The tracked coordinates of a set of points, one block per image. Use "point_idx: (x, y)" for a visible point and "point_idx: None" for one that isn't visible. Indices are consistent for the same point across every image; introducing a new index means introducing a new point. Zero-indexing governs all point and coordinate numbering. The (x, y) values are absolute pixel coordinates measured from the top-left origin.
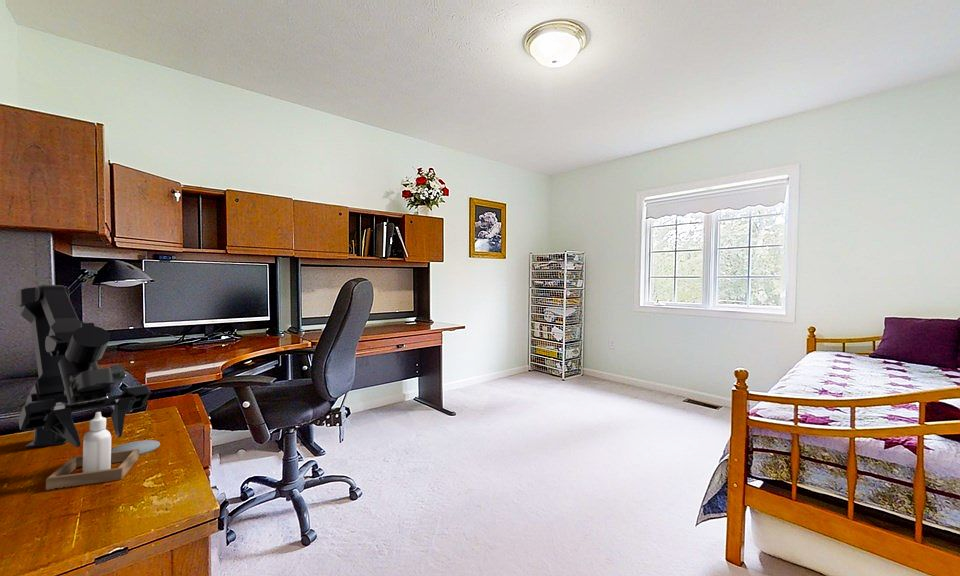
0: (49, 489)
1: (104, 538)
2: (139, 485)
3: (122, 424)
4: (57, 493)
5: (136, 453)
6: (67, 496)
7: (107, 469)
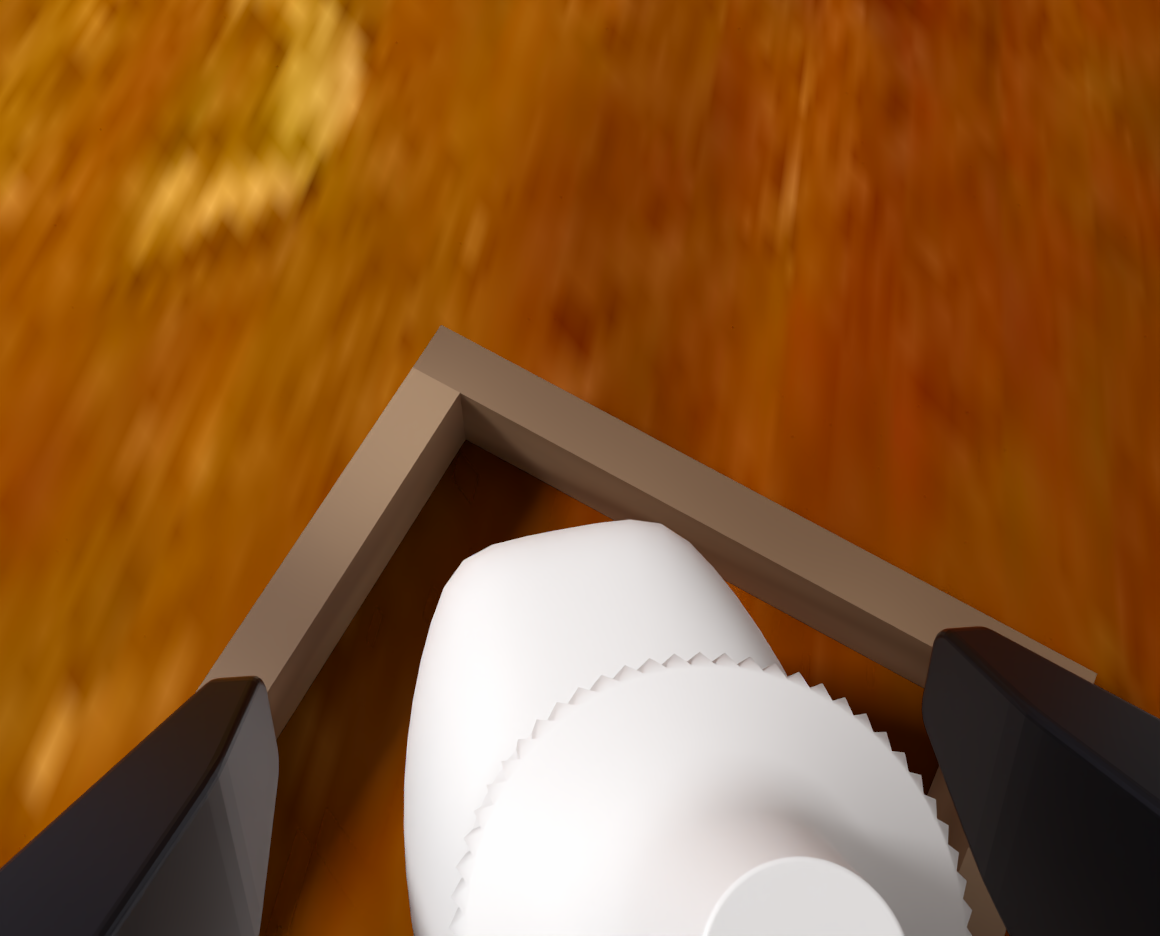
0: None
1: None
2: (388, 106)
3: (65, 829)
4: (938, 503)
5: None
6: (875, 352)
7: (551, 440)
